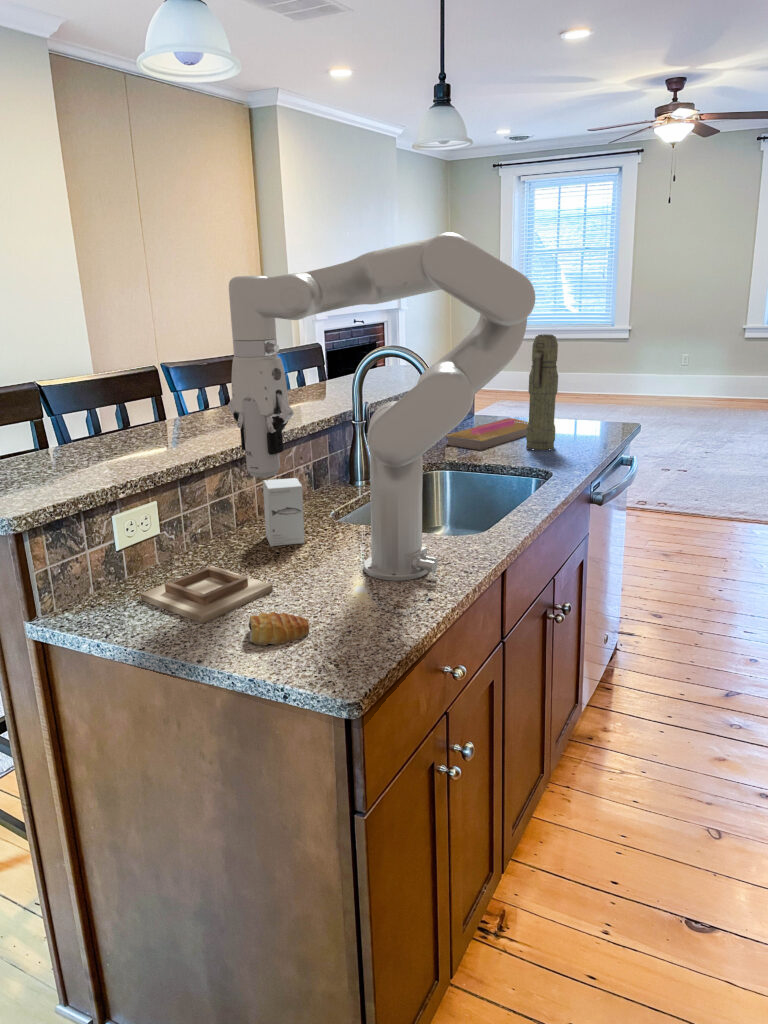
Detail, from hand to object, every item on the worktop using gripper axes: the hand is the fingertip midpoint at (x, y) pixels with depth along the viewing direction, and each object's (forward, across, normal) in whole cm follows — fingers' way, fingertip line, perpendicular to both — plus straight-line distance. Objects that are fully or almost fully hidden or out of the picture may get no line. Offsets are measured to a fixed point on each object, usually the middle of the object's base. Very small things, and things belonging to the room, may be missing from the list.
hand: (262, 450), depth 138 cm
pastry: (+24, -20, +20) cm, 37 cm away
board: (+23, 0, +15) cm, 28 cm away
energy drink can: (+5, 0, 0) cm, 5 cm away
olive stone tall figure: (+24, +3, -124) cm, 126 cm away
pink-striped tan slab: (+24, +22, -128) cm, 132 cm away
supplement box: (+23, +9, -14) cm, 29 cm away
